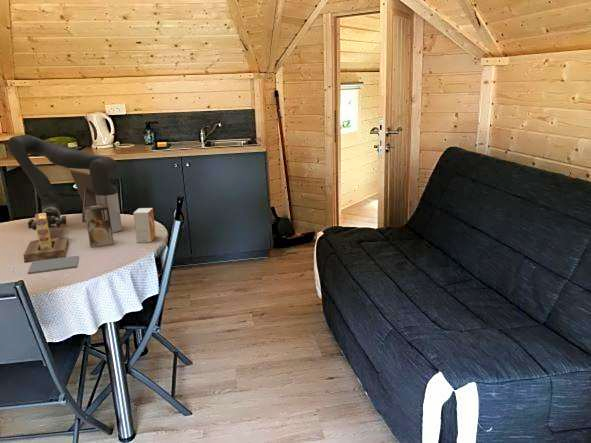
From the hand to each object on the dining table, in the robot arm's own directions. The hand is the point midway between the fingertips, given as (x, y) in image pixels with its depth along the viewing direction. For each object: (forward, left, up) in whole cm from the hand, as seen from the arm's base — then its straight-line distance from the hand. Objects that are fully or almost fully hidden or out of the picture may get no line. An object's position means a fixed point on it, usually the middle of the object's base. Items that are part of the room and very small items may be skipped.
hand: (45, 226), depth 195 cm
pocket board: (0, +7, -9) cm, 11 cm away
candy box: (0, +7, -9) cm, 11 cm away
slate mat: (-4, +24, -9) cm, 26 cm away
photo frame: (-15, -44, -9) cm, 48 cm away
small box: (-38, +6, -9) cm, 40 cm away
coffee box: (-20, +4, -9) cm, 23 cm away
